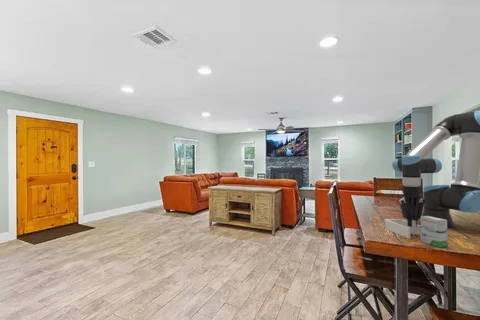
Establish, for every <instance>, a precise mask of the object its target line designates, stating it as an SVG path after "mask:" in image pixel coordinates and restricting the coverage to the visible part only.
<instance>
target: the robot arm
mask: <svg viewBox="0 0 480 320" xmlns="http://www.w3.org/2000/svg"><path fill="white" fill-rule="evenodd" d="M453 136H459V138H460V139H461V143H460V148H459V155H458V156H459V157H458V162H457V168H456V173H455V180H454V181H453V182H452V183H450V185H449V184H433V185H432V184H430V185H429V184H427V185H425V186H424V187H423V193H422V187H421V186H422V174H437V173H439V172H440V171H442V169H443V168H442V167H443V163H442V162H441V161H440V159H438V158H426V157H427V156H428V155H429V154H431V153H432V151H434V150H435V149H436V148H437V147H438V146H439V145H440V144H441V143H443V141H447V140H449V139H450V138H451V137H453ZM391 164H392V165H391V166H392V169H393V171H395V172H398V173H401V176H402V178H401V179H402V180H401V181H402V182H401V183H402V184H401V185H402V187H401V189H402V194H403V195H402V198H401V199H397V202H398V203H399V206H400V210H401V214H402V219H405V220H406V221H407V225H408V226H409V228H410V234H413V235H417V234H416V226H417V224H418V221H419V222H420V224H421V216H431V217H435V218H440V219H444V220H447V229H451V228H452V229H453V228H454V227H455V222H454V220H453V218H452V215H451V210H452V211H459V212H464V213H470V214H471V213H472V214H475V213H478V212H480V186H479V177H480V110H473V111H469V112H463V113H457V114H456V113H455V114H453V115H450V116H448V117H446V118H444V119H443V120H441V121H439V123H437V124H435V126H433V127H432V129H431V130H430V133H428V134H427V135H426V136H425V137H424V138H423V139H422V140H421V141H420V142H418V143H417V144H416V145H415V146H414V147H413V148H412V149H410V151H409V152H407V153H406V154H405V155H402V157H401V158H395V159H394V160H393V161H392V163H391ZM421 194H422V196H423V198H422V196H421Z"/></svg>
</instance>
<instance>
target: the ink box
mask: <svg viewBox="0 0 480 320" xmlns="http://www.w3.org/2000/svg"><path fill="white" fill-rule="evenodd" d="M420 225H421V236H420V242H422V243H425V244H428V245H431V246H433V247H437V248H447V247H449V245H448V244H449V243H448V242H449V240H448V228H447V220H444V219H440V218H435V217H431V216H421V223H420Z"/></svg>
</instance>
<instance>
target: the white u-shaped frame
mask: <svg viewBox="0 0 480 320" xmlns="http://www.w3.org/2000/svg"><path fill="white" fill-rule="evenodd" d="M383 229H385V230H388V231H390V232H392V233H394V234H397V235H399V236H402V237H404V238H406V239H408V240H411V239H412V238H411V233H410V228H409V226H408V225H407V219H404V218H385V219H383ZM415 235H417V236H420V237H421V224H419V223H417V226H416V234H415Z"/></svg>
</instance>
